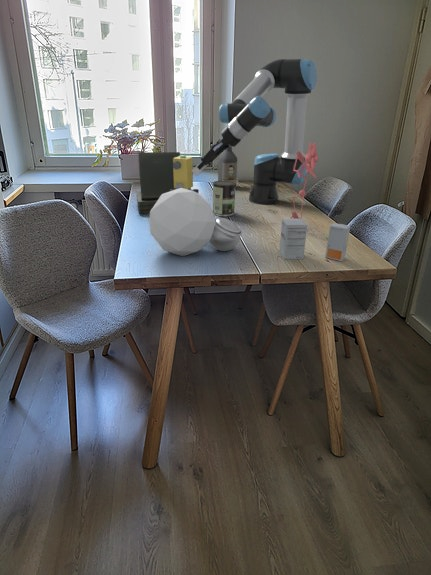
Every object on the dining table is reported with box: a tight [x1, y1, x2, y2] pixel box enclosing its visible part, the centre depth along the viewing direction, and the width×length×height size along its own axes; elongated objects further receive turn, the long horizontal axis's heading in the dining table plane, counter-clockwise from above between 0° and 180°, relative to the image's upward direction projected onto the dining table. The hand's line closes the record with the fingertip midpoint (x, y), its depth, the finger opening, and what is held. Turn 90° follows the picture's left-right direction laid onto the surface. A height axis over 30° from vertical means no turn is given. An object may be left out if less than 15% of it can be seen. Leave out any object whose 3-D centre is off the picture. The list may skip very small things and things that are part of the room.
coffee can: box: [212, 180, 237, 217], centre depth 197 cm, size 10×10×14 cm
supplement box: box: [278, 218, 308, 260], centre depth 151 cm, size 7×7×13 cm
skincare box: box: [325, 222, 351, 262], centre depth 150 cm, size 6×4×12 cm
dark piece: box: [136, 151, 181, 215], centre depth 200 cm, size 23×20×25 cm
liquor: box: [217, 145, 238, 188], centre depth 241 cm, size 9×9×30 cm
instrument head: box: [173, 154, 194, 189], centre depth 177 cm, size 6×9×13 cm, turn 159°
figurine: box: [289, 141, 323, 233], centre depth 175 cm, size 15×26×35 cm, turn 6°
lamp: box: [148, 188, 242, 257], centre depth 151 cm, size 22×34×24 cm, turn 100°
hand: (194, 173), depth 176 cm, fingers closed
